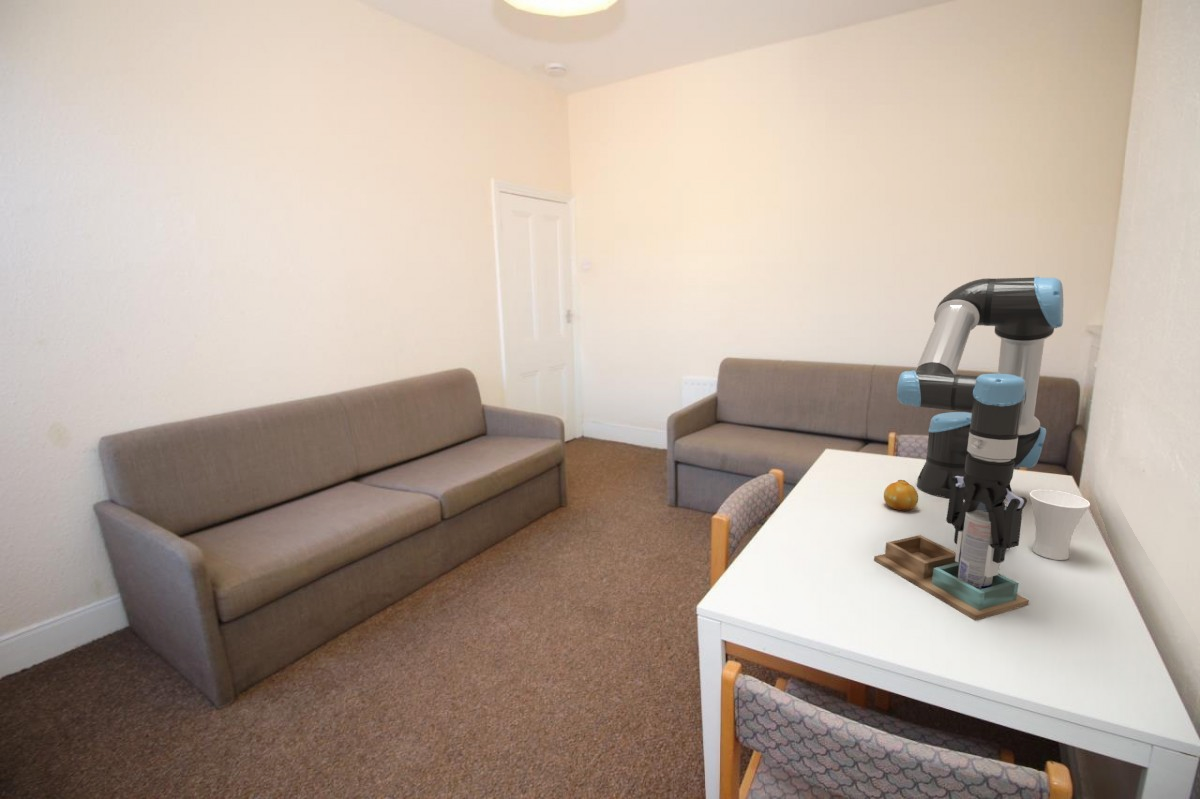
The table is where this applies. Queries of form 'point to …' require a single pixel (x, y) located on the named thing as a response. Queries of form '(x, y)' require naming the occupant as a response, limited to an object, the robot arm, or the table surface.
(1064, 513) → the cup
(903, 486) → the fruit
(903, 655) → the table surface
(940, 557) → the socket board
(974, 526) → the beverage can
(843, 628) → the table surface
